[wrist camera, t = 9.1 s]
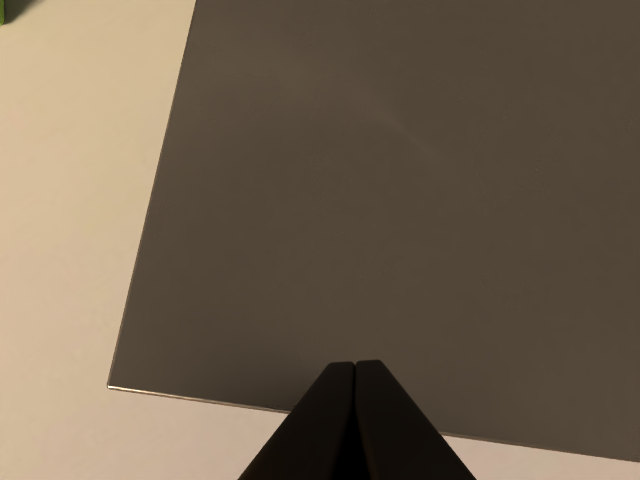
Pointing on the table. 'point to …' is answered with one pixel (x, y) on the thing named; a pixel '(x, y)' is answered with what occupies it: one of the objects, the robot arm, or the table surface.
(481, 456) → the table surface
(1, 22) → the ink box
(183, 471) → the table surface
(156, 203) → the box lid
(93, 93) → the table surface
